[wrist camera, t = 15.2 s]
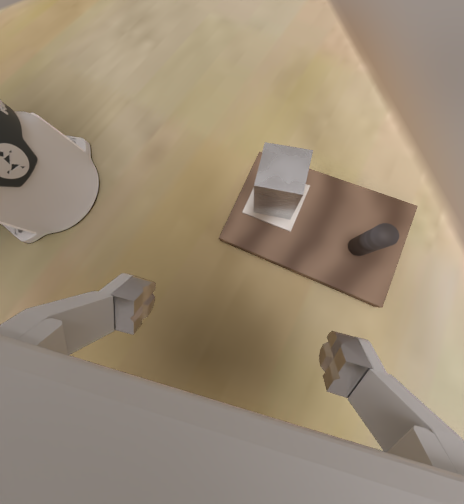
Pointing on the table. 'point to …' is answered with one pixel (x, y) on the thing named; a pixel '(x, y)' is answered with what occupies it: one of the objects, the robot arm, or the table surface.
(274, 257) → the walnut board
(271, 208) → the tall grey pillar
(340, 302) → the table surface
